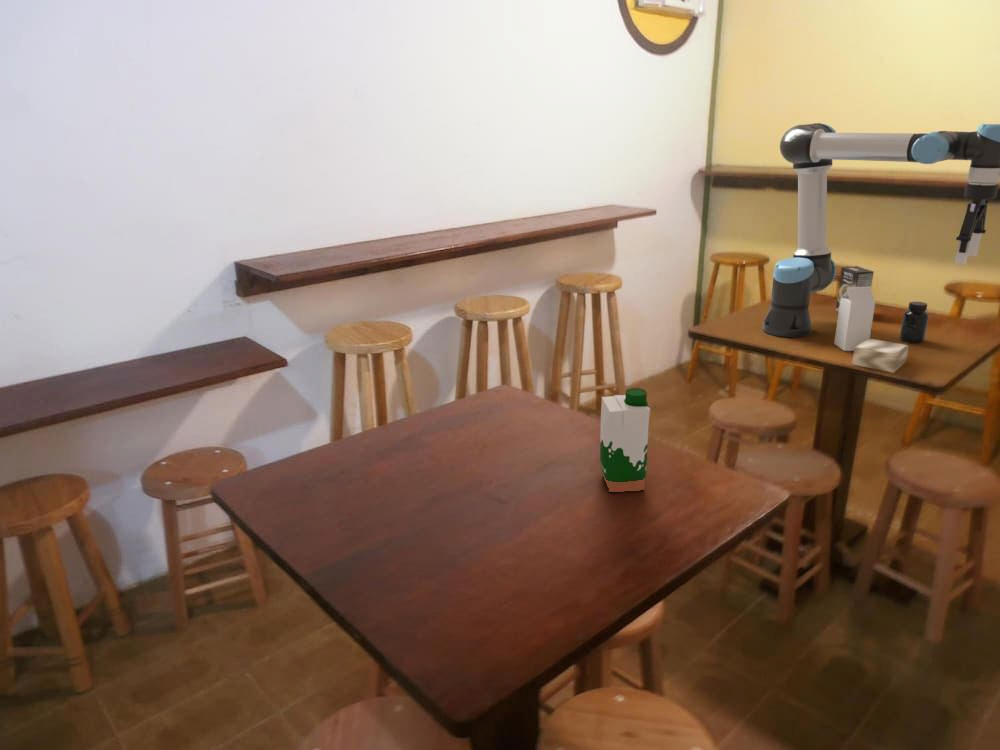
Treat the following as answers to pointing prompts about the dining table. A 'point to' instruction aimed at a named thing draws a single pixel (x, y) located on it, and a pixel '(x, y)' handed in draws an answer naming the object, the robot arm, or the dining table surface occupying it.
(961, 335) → the dining table surface
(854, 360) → the pedestal
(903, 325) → the supplement bottle
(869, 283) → the coffee box
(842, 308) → the milk carton
